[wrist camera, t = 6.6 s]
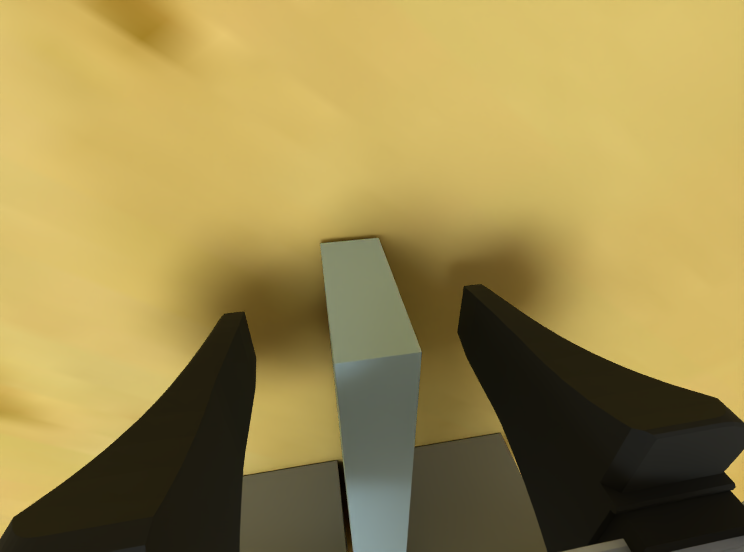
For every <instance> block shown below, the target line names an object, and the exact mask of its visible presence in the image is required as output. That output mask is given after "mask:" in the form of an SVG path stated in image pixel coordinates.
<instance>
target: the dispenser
mask: <svg viewBox="0 0 744 552" xmlns="http://www.w3.org/2000/svg"><path fill="white" fill-rule="evenodd" d="M240 552H348V547H347V539H346V530H345V522H344V514H343V505H342V497H341V488H340V480H339V472H338V463H337V461H331V462H325V463H319V464H313V465H307V466H301V467H295V468H289V469H283V470H278V471H272V472H266V473H260V474H254V475H248V476H243V483H242V501H241V524H240ZM406 552H547V549H546V546H545V543H544V540H543V537H542V534H541V530H540V527H539V524H538V521H537V518H536V515H535V512H534V509H533V506H532V503H531V500H530V498H529V495H528V492H527V489H526V486H525V483H524V480H523V478H522V476H521V474H520V472H519V470H518V468H517V466H516V463H515V461H514V459H513V457H512V455H511V453H510V451H509V449H508V447H507V445H506V443H505V441H504V439H503V437H502V435H501V433H498V434H492V435H486V436H480V437H474V438H468V439H462V440H457V441H451V442H445V443H439V444H433V445H427V446H421V447H415V448H414V459H413V472H412V485H411V497H410V510H409V523H408V536H407V549H406Z"/></svg>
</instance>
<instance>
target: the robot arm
mask: <svg viewBox="0 0 744 552" xmlns="http://www.w3.org/2000/svg"><path fill="white" fill-rule="evenodd" d="M458 335H459V338H460V341H461V343H462V346H463V349H464V351H465V354H466V357H467V359H468V361H469V363H470V365H471V367H472V369H473V371H474V372H475V374H476V376H477V378H478V380H479V382H480V384H481V386H482V388H483V389H484V391H485V393H486V395H487V397H488V399H489V401H490V403H491V404H492V406H493V408H494V410H495V412H496V414H497V416H498V418H499V420H500V422H501V424H502V427H503V429H504V432H505V434H506V437H507V439H508V442H509V444H510V446H511V449H512V451H513V454H514V457H515V459H516V462H517V465H518V467H519V470H520V473H521V475H522V478H523V480H524V483H525V486H526V489H527V492H528V495H529V498H530V500H531V503H532V506H533V509H534V512H535V515H536V518H537V521H538V524H539V527H540V530H541V534H542V537H543V540H544V543H545V546H546V549H547V552H744V501H743V502H742V503H741V502H740V501H739V500H738V498H737V497H736V496H735V495H734V494H733V493H732V492H731V491H730V490H733V489H734V488H735V483H734V482H733V481H732V480H731V479H730V478H729V477H728V476H727V475H726V473H725V472H724V471H725V470H726V469H727V468H728V467H729V466H730V464H731V463H732V462H733V461H734V460H735V459H736V458H737V457H738V455H739V454H740V453H741V452H742V451H743V450H744V422H743V421H742V420H741V419H739V418H738V417H737V416H736V415H735V414H734V413H733V412H732V411H731V410H730V409H729V408H727V407H726V406H725V405H724V404H723V403H722V402H721V401H720V400H719V399H717V398H715V397H711V396H708V395H705V394H701V393H698V392H695V391H691V390H688V389H685V388H681V387H678V386H674V385H671V384H668V383H665V382H663V381H660V380H657V379H654V378H651V377H648V376H646V375H643V374H640V373H638V372H635V371H633V370H630V369H627V368H625V367H623V366H620V365H618V364H616V363H613V362H611V361H609V360H606V359H604V358H602V357H600V356H598V355H595V354H593V353H591V352H589V351H587V350H585V349H583V348H581V347H579V346H577V345H575V344H574V343H572V342H570V341H568V340H566V339H564V338H562V337H561V336H559V335H557V334H556V333H554V332H552V331H551V330H549V329H547V328H546V327H544V326H542V325H541V324H539V323H538V322H536V321H534V320H533V319H531V318H530V317H528V316H527V315H525V314H524V313H522V312H521V311H519V310H518V309H517V308H515V307H514V306H512V305H511V304H509V303H508V302H507V301H505V300H504V299H502V298H501V297H499V296H498V295H497V294H495V293H494V292H492V291H491V290H489V289H488V288H486V287H485V286H483V285H482V284H479V285H470V286H464V289H463V296H462V303H461V310H460V318H459V325H458ZM255 385H256V355H255V351H254V347H253V344H252V340H251V336H250V332H249V328H248V324H247V320H246V316H245V313H244V312H236V313H228V314H224V315H223V316H222V317H221V318H220V320H219V321H218V323H217V324H216V326H215V327H214V329H213V330H212V332H211V333H210V335H209V336H208V338H207V339H206V340H205V342H204V343H203V345H202V346H201V347H200V349H199V350H198V352H197V353H196V354H195V356H194V357H193V358H192V360H191V361H190V362H189V364H188V365H187V366H186V367H185V369H184V370H183V371H182V372H181V374H180V375H179V376H178V377H177V378H176V380H175V381H174V382H173V383H172V384H171V386H170V387H169V388H168V389H167V390H166V391H165V393H164V394H163V395H162V396H161V397H160V398H159V399H158V400H157V401H156V402H155V403H154V405H153V406H152V407H151V408H150V409H149V410H148V411H147V412H146V413H145V414H144V415H143V416H142V417H141V418H140V419H139V420H138V421H137V422H135V423H134V424H133V425H132V426H131V427H130V428H129V429H128V430H127V431H125V432H124V433H123V434H122V435H121V436H120V437H119V438H118V439H117V440H116V441H114V442H113V443H112V444H111V445H110V446H109V447H108V448H106V449H105V450H104V451H103V452H101V453H100V454H99V455H98V456H97V457H95V458H94V459H93V460H92V461H90V462H89V463H88V464H87V465H85V466H84V467H83V468H82V469H80V470H79V471H78V472H76V473H75V474H74V475H73V476H71V477H70V478H69V479H67V480H66V481H65V482H63V483H62V484H60V485H59V486H58V487H56V488H55V489H53V490H52V491H51V492H49V493H48V494H46V495H45V496H43V497H42V498H41V499H39V500H38V501H36V502H35V503H34V504H32V505H31V506H29V507H28V508H26V509H25V510H24V511H22V512H21V513H19V514H18V515H16V516H15V517H13V519H12V521H11V522H10V524H9V526H8V527H7V529H6V530H5V532H4V534H3V535H2V537H1V539H0V552H240V524H241V501H242V483H243V467H244V458H245V450H246V444H247V438H248V432H249V425H250V419H251V413H252V407H253V400H254V394H255Z"/></svg>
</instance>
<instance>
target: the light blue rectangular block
mask: <svg viewBox="0 0 744 552" xmlns="http://www.w3.org/2000/svg"><path fill="white" fill-rule="evenodd" d="M320 247H321V256H322V266H323V275H324V285H325V294H326V304H327V314H328V323H329V333H330V342H331V352H332V361H333V371H334V381H335V390H336V400H337V409H338V419H339V428H340V438H341V447H342V457H343V467H344V476H345V485H346V494H347V503H348V512H349V521H350V530H351V539H352V548H353V552H406V549H407V536H408V523H409V510H410V497H411V485H412V472H413V459H414V446H415V433H416V420H417V407H418V395H419V382H420V369H421V356H422V351H421V348H420V346H419V343H418V341H417V338H416V335H415V333H414V330H413V327H412V325H411V322H410V319H409V317H408V314H407V311H406V309H405V306H404V304H403V301H402V298H401V296H400V293H399V290H398V288H397V285H396V282H395V280H394V277H393V275H392V272H391V269H390V267H389V264H388V261H387V259H386V256H385V253H384V251H383V248H382V245H381V243H380V240H379V238H371V239H360V240H350V241H339V242H329V243H320Z"/></svg>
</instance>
